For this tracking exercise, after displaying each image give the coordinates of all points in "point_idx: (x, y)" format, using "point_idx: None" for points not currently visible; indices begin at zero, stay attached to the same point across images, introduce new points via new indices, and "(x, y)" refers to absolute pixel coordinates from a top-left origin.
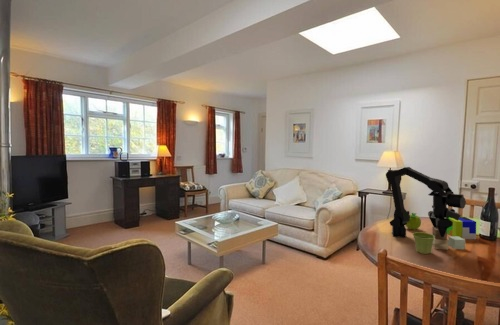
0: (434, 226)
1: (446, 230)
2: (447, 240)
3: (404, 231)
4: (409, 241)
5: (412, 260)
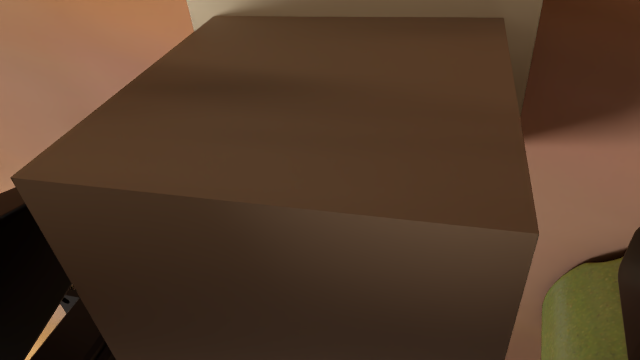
0: (26, 337)
1: (516, 249)
2: (540, 12)
3: (108, 357)
4: None
5: None
